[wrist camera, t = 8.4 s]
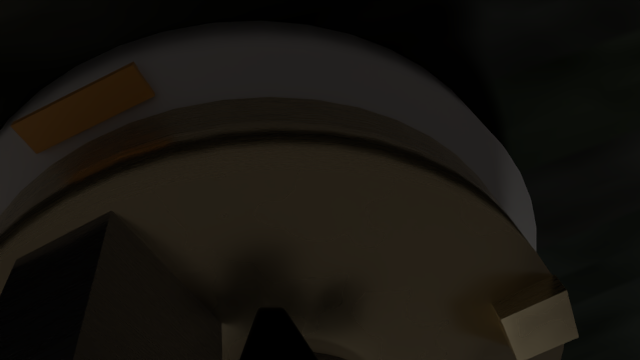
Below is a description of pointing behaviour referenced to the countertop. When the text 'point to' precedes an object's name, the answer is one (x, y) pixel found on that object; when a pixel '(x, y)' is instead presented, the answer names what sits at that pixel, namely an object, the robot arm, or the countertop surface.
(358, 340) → the shallow round tray
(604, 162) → the countertop surface
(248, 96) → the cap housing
